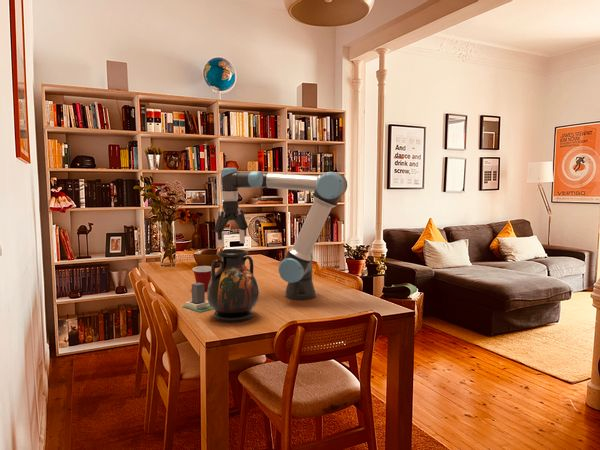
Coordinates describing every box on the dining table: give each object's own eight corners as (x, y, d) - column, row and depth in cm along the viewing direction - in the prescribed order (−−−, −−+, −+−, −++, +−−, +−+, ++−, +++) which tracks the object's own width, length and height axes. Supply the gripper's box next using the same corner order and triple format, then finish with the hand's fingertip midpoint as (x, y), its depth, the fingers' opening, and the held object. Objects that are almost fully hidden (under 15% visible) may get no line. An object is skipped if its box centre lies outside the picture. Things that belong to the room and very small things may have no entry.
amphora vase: (221, 329, 172) (220, 257, 169) (199, 315, 189) (197, 250, 187) (269, 319, 185) (268, 252, 182) (243, 307, 202) (243, 246, 199)
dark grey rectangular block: (204, 305, 203) (204, 283, 202) (197, 307, 200) (197, 285, 199) (198, 303, 206) (197, 282, 205) (191, 305, 203) (190, 283, 202)
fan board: (216, 308, 201) (216, 301, 200) (200, 312, 194) (200, 305, 193) (198, 303, 209) (198, 296, 209) (182, 307, 202) (182, 300, 202)
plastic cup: (193, 293, 226) (193, 270, 225) (192, 288, 237) (191, 266, 236) (215, 292, 230) (214, 269, 228) (213, 287, 240) (212, 265, 239)
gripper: (243, 199, 224) (244, 241, 226) (204, 201, 204) (207, 247, 206) (254, 199, 220) (255, 242, 221) (215, 201, 200) (218, 248, 202)
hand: (232, 244), depth 214 cm, fingers open, 13 cm apart
